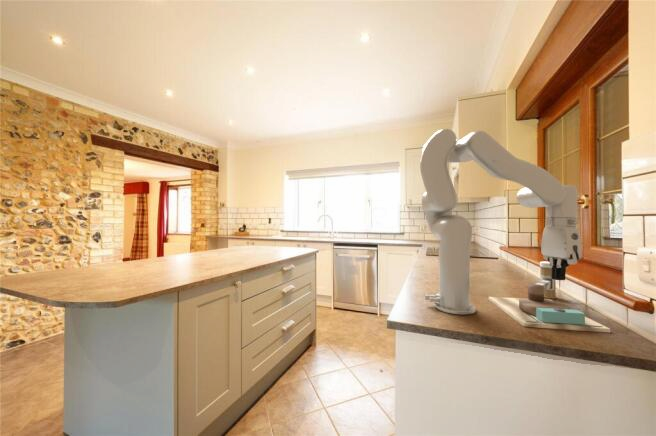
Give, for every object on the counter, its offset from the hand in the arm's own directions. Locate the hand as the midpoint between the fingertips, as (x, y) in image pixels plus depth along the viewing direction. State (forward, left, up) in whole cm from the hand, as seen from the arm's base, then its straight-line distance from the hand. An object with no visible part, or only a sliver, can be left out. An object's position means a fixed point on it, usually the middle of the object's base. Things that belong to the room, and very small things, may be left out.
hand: (558, 279), depth 84 cm
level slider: (-7, -14, -9) cm, 18 cm away
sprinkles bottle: (+6, +16, -10) cm, 20 cm away
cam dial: (-5, -1, -9) cm, 10 cm away
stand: (-7, -4, -10) cm, 13 cm away
